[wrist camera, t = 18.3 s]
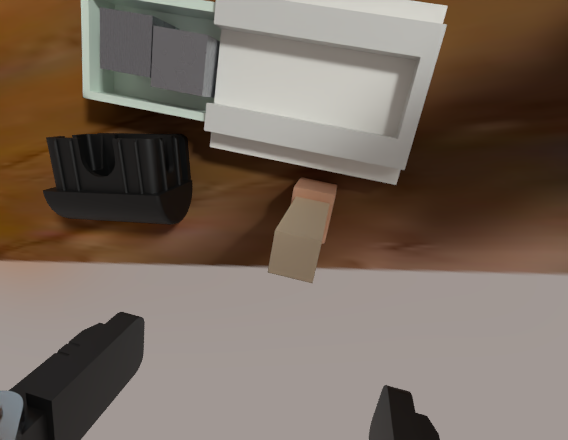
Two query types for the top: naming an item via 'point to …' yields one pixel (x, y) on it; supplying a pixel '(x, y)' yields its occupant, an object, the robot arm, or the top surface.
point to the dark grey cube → (127, 41)
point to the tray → (133, 88)
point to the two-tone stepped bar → (302, 230)
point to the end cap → (121, 177)
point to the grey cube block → (184, 61)
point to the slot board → (324, 81)
